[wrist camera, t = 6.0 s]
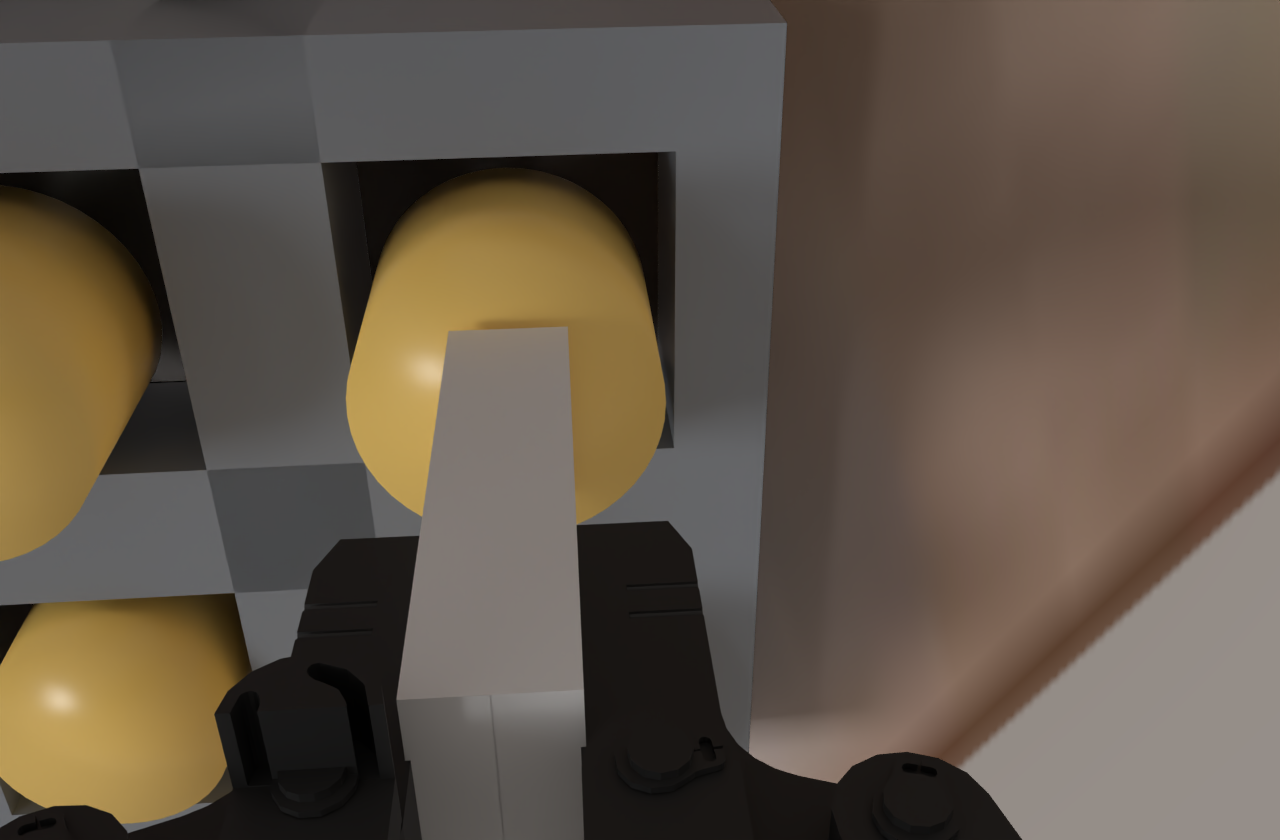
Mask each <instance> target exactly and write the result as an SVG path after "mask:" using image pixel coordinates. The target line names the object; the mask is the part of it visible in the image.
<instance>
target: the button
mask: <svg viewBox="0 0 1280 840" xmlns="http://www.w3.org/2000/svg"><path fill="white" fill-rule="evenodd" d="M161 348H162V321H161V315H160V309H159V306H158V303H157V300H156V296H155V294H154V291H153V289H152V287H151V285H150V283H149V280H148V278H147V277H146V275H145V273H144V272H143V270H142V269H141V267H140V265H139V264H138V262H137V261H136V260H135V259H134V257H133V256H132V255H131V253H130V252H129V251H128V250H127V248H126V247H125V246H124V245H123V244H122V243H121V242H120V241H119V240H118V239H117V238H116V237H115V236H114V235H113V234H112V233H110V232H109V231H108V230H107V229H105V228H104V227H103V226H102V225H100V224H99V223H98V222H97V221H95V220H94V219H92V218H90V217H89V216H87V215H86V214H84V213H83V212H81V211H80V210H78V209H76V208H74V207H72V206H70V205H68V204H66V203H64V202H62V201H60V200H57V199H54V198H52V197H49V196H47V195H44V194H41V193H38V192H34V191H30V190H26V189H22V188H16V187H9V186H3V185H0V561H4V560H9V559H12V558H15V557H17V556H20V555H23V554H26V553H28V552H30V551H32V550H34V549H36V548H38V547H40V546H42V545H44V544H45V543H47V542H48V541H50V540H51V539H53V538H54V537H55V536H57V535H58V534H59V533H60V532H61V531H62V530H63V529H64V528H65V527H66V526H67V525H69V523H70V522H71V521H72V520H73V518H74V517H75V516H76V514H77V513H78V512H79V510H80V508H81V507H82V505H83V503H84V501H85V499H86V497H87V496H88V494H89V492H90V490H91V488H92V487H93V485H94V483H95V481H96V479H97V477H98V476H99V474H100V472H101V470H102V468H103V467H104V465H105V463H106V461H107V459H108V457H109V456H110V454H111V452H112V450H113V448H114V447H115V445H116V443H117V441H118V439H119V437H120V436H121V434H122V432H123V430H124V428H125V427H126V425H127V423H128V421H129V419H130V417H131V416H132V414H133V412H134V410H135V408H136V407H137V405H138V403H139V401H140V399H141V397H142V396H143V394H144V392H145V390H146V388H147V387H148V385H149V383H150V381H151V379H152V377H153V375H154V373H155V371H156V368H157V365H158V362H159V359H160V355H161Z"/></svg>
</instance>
